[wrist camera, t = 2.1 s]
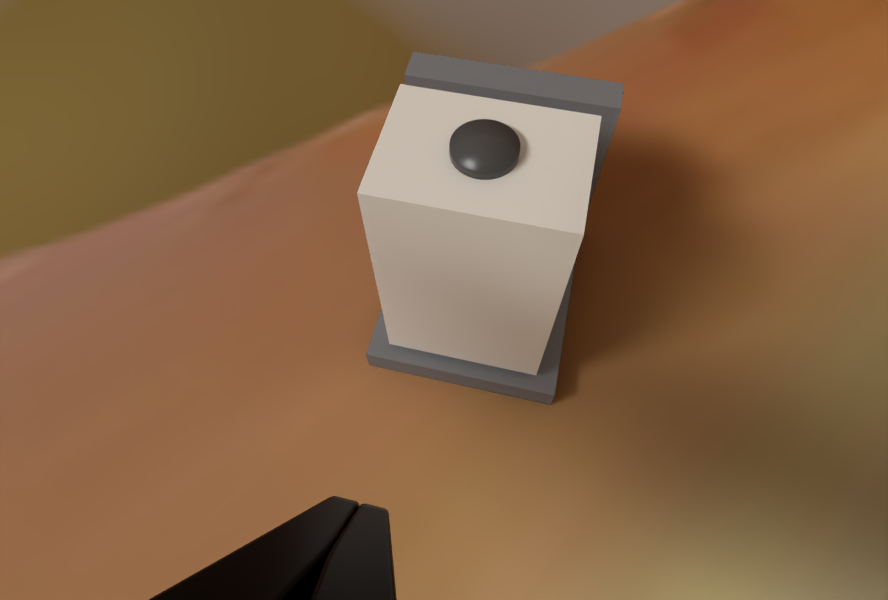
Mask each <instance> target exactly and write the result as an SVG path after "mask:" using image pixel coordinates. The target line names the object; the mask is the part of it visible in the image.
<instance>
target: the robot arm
mask: <svg viewBox="0 0 888 600" xmlns="http://www.w3.org/2000/svg"><path fill="white" fill-rule="evenodd" d="M149 600H397V599H396V588H395V577H394V566H393V555H392V544H391V533H390V522H389V513H388V510H386V509H385V508H381V507H377V506H373V505H369V504H361V505H360V506H359V503H358V502H356V501H353V500H349V499H345V498H341V497H337V496H332V497H329V498H327V499H326V500H324V501H322V502H320V503H319V504H317V505H315V506H313V507H312V508H310V509H308V510H306V511H304V512H303V513H301V514H299V515H297V516H296V517H294V518H292V519H290V520H289V521H287V522H285V523H283V524H282V525H280V526H278V527H276V528H274V529H273V530H271V531H269V532H267V533H266V534H264V535H262V536H260V537H259V538H257V539H255V540H253V541H251V542H250V543H248V544H246V545H244V546H243V547H241V548H239V549H237V550H236V551H234V552H232V553H230V554H229V555H227V556H225V557H223V558H221V559H220V560H218V561H216V562H214V563H213V564H211V565H209V566H207V567H206V568H204V569H202V570H200V571H198V572H197V573H195V574H193V575H191V576H190V577H188V578H186V579H184V580H183V581H181V582H179V583H177V584H176V585H174V586H172V587H170V588H168V589H167V590H165V591H163V592H161V593H160V594H158V595H156V596H154V597H153V598H151V599H149Z"/></svg>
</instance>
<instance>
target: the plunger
mask: <svg viewBox="0 0 888 600" xmlns="http://www.w3.org/2000/svg"><path fill="white" fill-rule="evenodd" d="M601 117H602V116H599V115H592V114H586V113H580V112H573V111H567V110H561V109H555V108H548V107H542V106H536V105H529V104H523V103H517V102H510V101H504V100H498V99H492V98H485V97H479V96H473V95H466V94H460V93H454V92H448V91H441V90H435V89H429V88H422V87H416V86H410V85H403V84H400V86H399V89H398V91H397V94H396V96H395V99H394V101H393V104H392V106H391V109H390V111H389V114H388V116H387V119H386V121H385V124H384V126H383V129H382V132H381V134H380V137H379V139H378V142H377V144H376V147H375V149H374V152H373V154H372V157H371V159H370V162H369V164H368V167H367V169H366V172H365V174H364V177H363V179H362V182H361V185H360V187H359V190H358V192H357V195H358V200H359V204H360V209H361V214H362V218H363V223H364V228H365V232H366V237H367V242H368V246H369V251H370V256H371V260H372V265H373V270H374V274H375V279H376V284H377V288H378V293H379V298H380V302H381V307H382V312H383V316H384V321H385V326H386V330H387V335H388V340H389V344H392V345H397V346H402V347H406V348H411V349H416V350H420V351H425V352H429V353H434V354H439V355H443V356H448V357H453V358H457V359H462V360H467V361H471V362H476V363H481V364H485V365H490V366H494V367H499V368H504V369H508V370H513V371H518V372H522V373H527V374H532V375H536V374H537V371H538V368H539V366H540V363H541V360H542V357H543V354H544V351H545V348H546V345H547V342H548V339H549V336H550V333H551V330H552V327H553V324H554V321H555V318H556V315H557V313H558V310H559V307H560V304H561V301H562V298H563V295H564V292H565V289H566V286H567V283H568V280H569V277H570V274H571V271H572V268H573V265H574V262H575V260H576V257H577V254H578V251H579V248H580V245H581V242H582V239H583V236H584V231H585V224H586V217H587V211H588V204H589V197H590V190H591V184H592V177H593V170H594V164H595V157H596V150H597V143H598V137H599V130H600V123H601Z"/></svg>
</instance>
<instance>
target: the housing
mask: <svg viewBox="0 0 888 600" xmlns="http://www.w3.org/2000/svg"><path fill="white" fill-rule="evenodd" d="M404 77H405V85H410V86H416V87H422V88H429V89H435V90H441V91H448V92H454V93H460V94H466V95H473V96H479V97H485V98H492V99H498V100H504V101H510V102H517V103H523V104H529V105H536V106H542V107H548V108H555V109H561V110H567V111H573V112H580V113H586V114H592V115H599V116H602V117H601V123H600V130H599V137H598V143H597V150H596V157H595V164H594V170H593V177H592V184H591V190H590V197H589V204H588V208H589V205H590V202H591V199H592V196H593V193H594V189H595V186H596V183H597V180H598V177H599V174H600V171H601V168H602V165H603V162H604V159H605V156H606V153H607V150H608V147H609V144H610V141H611V138H612V135H613V132H614V129H615V126H616V123H617V119H618V116H619V113H620V110H621V105H622V97H623V89H624V83H617V82H611V81H604V80H598V79H591V78H584V77H578V76H571V75H564V74H558V73H551V72H545V71H538V70H531V69H525V68H518V67H512V66H505V65H498V64H492V63H485V62H479V61H472V60H465V59H459V58H452V57H446V56H439V55H432V54H426V53H419V52H413V54H412V57H411V59H410V62H409V64H408V67H407V69H406V72H405V75H404ZM574 266H575V262H574V265H573V268H572V271H571V274H570V277H569V280H568V283H567V286H566V289H565V292H564V295H563V298H562V301H561V304H560V307H559V310H558V313H557V315H556V318H555V321H554V324H553V327H552V330H551V333H550V336H549V339H548V342H547V345H546V348H545V351H544V354H543V357H542V360H541V363H540V366H539V368H538V371H537V374H536V375H532V374H527V373H522V372H518V371H513V370H508V369H504V368H499V367H494V366H490V365H485V364H481V363H476V362H471V361H467V360H462V359H457V358H453V357H448V356H443V355H439V354H434V353H429V352H425V351H420V350H416V349H411V348H406V347H402V346H397V345H392V344H389V340H388V335H387V330H386V326H385V321H384V316H383V312H382V308H381V311H380V314H379V317H378V320H377V323H376V326H375V329H374V333H373V336H372V339H371V342H370V345H369V348H368V351H367V354H366V355H367V359H368V362H369V365H373V366H377V367H382V368H386V369H391V370H395V371H400V372H404V373H409V374H413V375H418V376H422V377H427V378H431V379H436V380H441V381H445V382H450V383H454V384H459V385H463V386H468V387H472V388H477V389H481V390H486V391H490V392H495V393H499V394H504V395H508V396H513V397H518V398H522V399H527V400H531V401H536V402H540V403H545V404H549V405H551V403H552V400H553V398H554V396H555V390H556V383H557V377H558V370H559V364H560V357H561V351H562V344H563V338H564V331H565V325H566V318H567V312H568V305H569V299H570V292H571V286H572V279H573V273H574Z"/></svg>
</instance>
